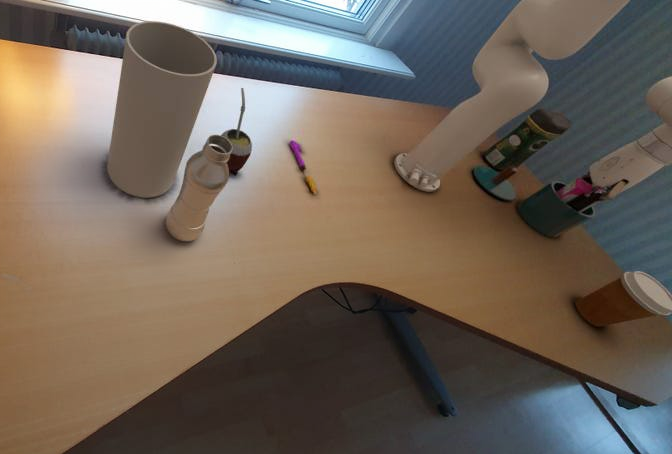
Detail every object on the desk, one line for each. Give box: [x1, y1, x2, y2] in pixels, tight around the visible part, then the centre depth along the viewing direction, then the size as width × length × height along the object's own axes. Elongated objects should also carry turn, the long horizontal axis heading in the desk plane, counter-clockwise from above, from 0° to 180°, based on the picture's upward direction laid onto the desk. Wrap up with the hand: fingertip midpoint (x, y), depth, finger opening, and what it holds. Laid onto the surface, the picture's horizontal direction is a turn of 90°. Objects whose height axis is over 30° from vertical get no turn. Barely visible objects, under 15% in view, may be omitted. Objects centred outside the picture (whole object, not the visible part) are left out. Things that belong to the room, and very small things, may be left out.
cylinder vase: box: [106, 20, 218, 199], centre depth 59 cm, size 12×12×25 cm
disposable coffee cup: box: [575, 270, 672, 328], centre depth 78 cm, size 10×10×12 cm
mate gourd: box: [220, 87, 253, 177], centre depth 71 cm, size 8×8×15 cm
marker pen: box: [289, 140, 317, 195], centre depth 84 cm, size 3×1×16 cm
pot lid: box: [472, 165, 519, 202], centre depth 102 cm, size 13×13×7 cm
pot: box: [517, 180, 597, 238], centre depth 97 cm, size 12×12×9 cm
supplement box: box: [556, 176, 602, 213], centre depth 95 cm, size 6×6×12 cm
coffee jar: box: [483, 107, 572, 172], centre depth 106 cm, size 10×8×19 cm
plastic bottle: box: [165, 134, 233, 242], centre depth 56 cm, size 6×7×20 cm
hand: (570, 199), depth 94 cm, fingers closed on supplement box, 6 cm apart
